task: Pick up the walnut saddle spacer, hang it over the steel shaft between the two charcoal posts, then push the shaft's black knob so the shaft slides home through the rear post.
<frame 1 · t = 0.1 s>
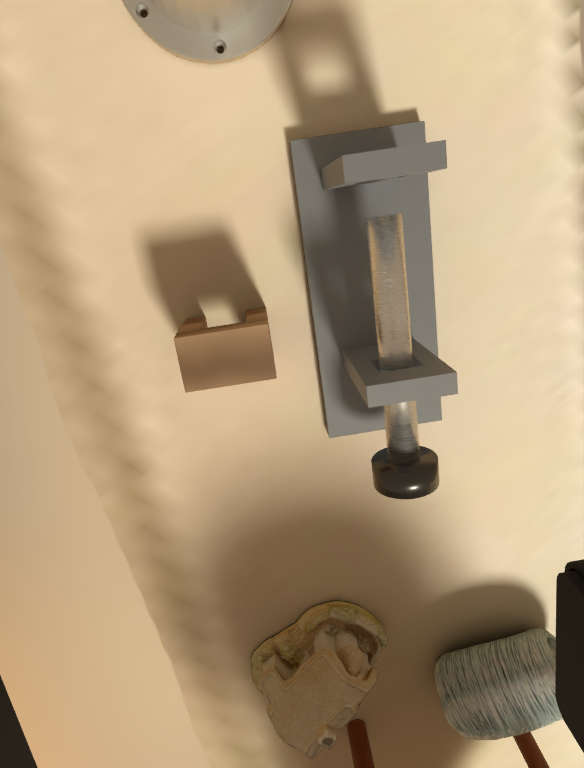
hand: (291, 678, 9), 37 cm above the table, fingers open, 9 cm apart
ceramic model: (316, 648, 55), on the table
spacer: (230, 336, 44), on the table
grey bearing stand: (370, 291, 44), on the table
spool: (488, 651, 57), on the table
shaft: (395, 359, 38), point 7 cm above the table, slide at 0.0 cm
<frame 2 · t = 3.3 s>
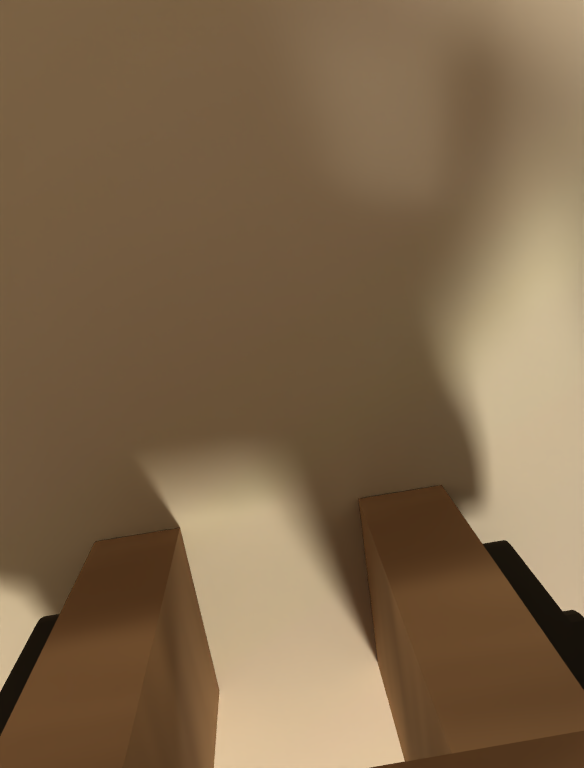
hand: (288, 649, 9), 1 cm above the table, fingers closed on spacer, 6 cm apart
spacer: (285, 599, 11), on the table, touching gripper
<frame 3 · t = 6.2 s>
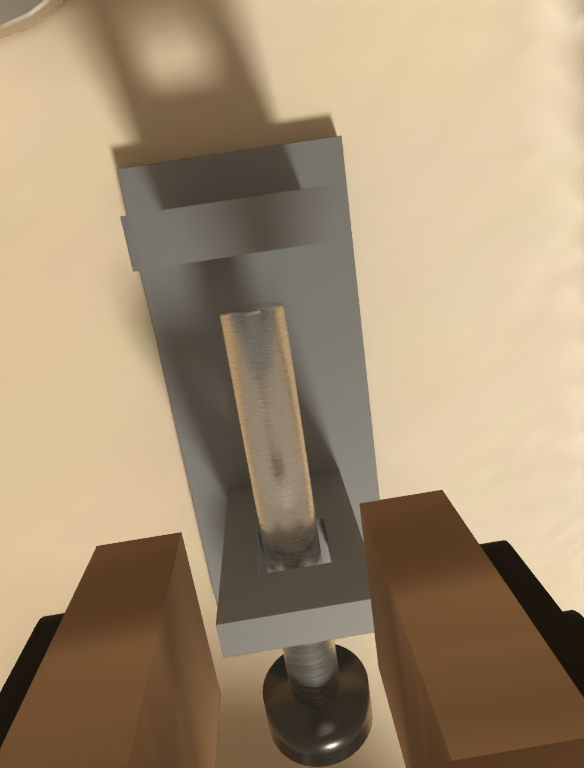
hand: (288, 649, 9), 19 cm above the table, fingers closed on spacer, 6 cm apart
spacer: (286, 603, 11), point 18 cm above the table, touching gripper
grey bearing stand: (271, 398, 28), on the table
shaft: (290, 539, 23), point 7 cm above the table, slide at 0.0 cm
when the fingers open (5 cm above the table, at t = 9.1 s): spacer stays where it is, resting on shaft.
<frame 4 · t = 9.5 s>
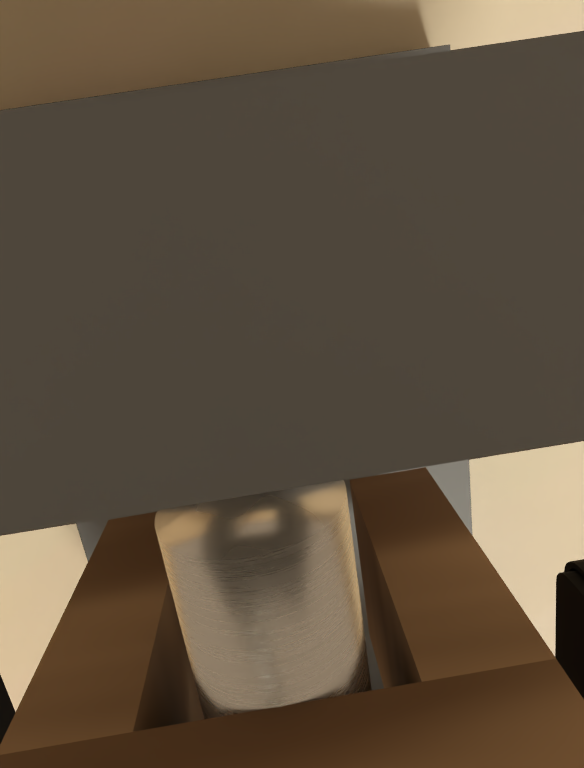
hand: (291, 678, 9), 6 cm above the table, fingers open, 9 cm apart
spacer: (282, 574, 12), point 3 cm above the table, touching shaft
grey bearing stand: (287, 558, 15), on the table
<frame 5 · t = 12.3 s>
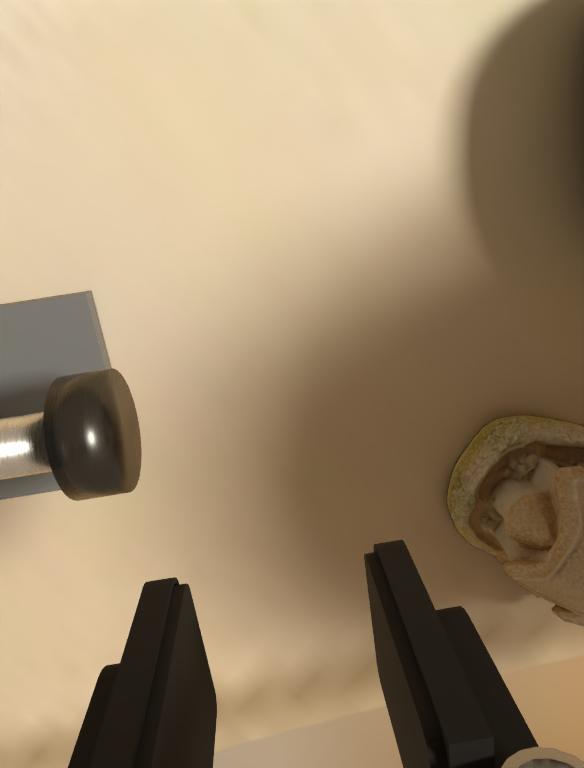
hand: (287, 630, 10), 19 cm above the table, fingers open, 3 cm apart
ceramic model: (548, 502, 32), on the table
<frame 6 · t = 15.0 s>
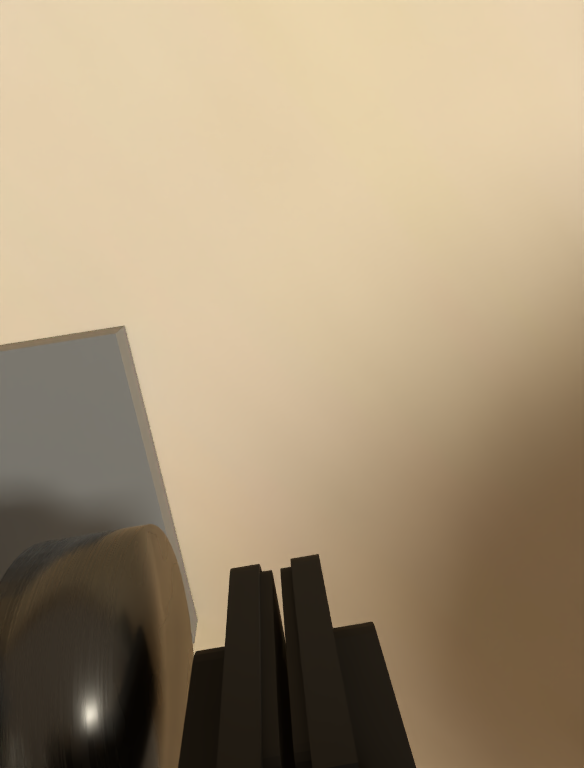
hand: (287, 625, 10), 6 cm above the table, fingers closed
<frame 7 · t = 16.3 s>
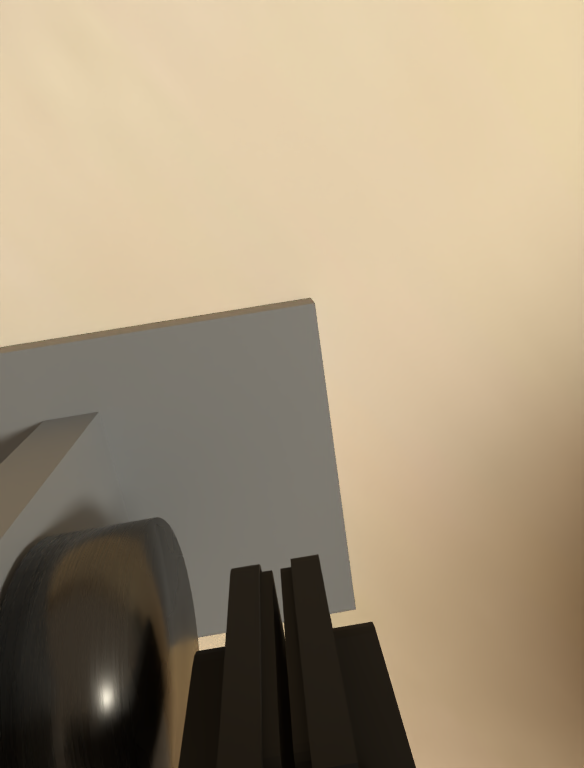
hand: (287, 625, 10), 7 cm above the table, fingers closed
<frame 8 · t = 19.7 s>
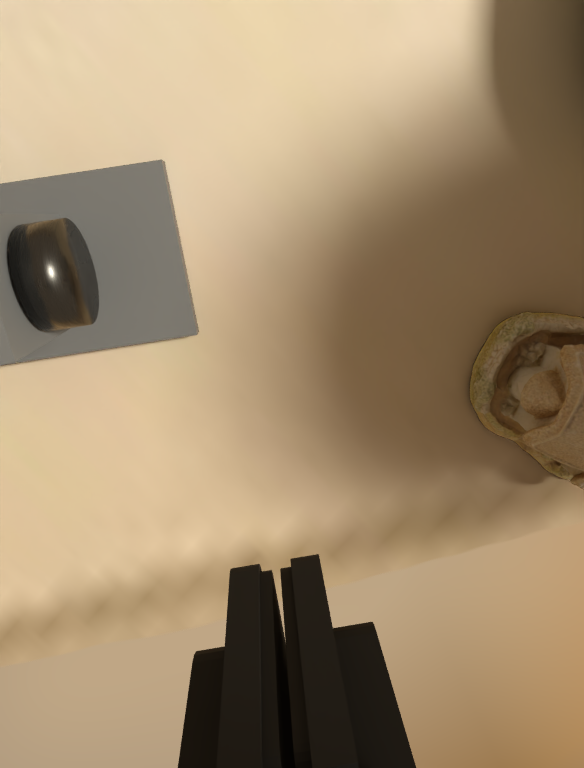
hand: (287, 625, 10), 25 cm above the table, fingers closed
ceramic model: (559, 392, 37), on the table
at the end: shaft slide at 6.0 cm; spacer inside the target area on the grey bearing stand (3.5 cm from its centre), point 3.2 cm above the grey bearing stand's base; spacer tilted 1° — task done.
